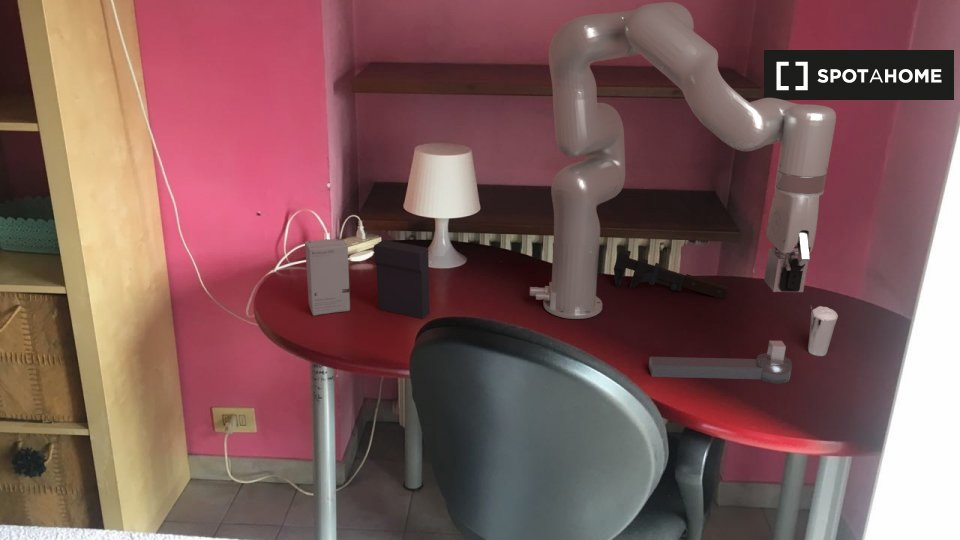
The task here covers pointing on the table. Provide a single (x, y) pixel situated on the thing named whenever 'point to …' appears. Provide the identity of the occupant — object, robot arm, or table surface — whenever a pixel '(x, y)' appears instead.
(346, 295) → the skincare box
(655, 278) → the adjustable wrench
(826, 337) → the milkshake
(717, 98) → the robot arm
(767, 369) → the ratchet
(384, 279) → the black lidded box
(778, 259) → the pale grey cube
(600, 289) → the table surface
